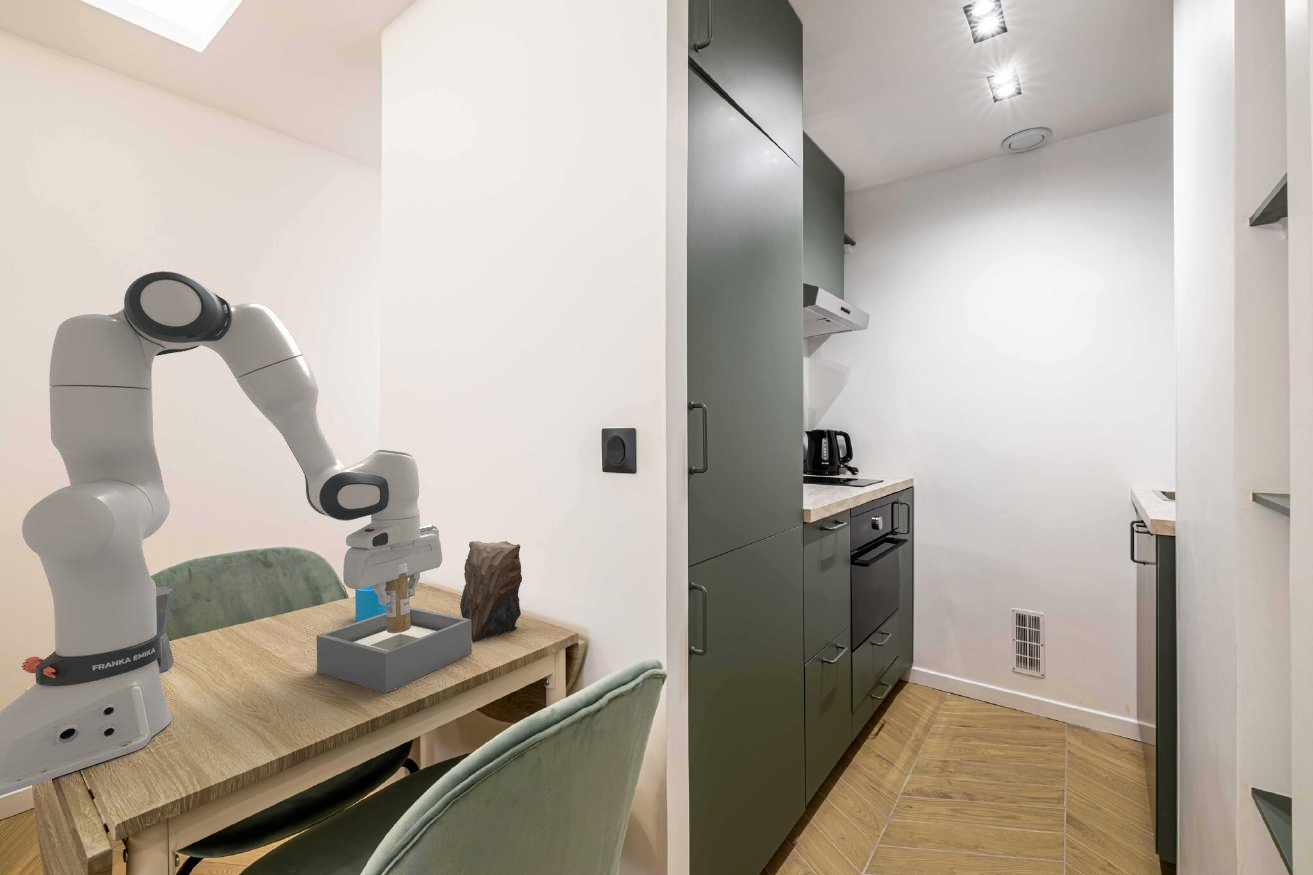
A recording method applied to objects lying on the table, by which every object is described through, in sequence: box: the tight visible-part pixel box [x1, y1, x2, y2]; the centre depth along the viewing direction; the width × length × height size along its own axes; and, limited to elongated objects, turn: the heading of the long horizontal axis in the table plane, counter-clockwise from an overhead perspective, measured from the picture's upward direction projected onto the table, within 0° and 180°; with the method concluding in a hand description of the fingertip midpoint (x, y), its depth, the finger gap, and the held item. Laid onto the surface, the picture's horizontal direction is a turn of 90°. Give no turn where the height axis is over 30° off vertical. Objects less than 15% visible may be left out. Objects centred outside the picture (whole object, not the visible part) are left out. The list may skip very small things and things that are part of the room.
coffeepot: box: [156, 586, 175, 674], centre depth 107 cm, size 15×9×18 cm, turn 6°
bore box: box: [316, 606, 473, 694], centre depth 112 cm, size 20×20×7 cm
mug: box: [354, 586, 386, 623], centre depth 140 cm, size 12×8×8 cm
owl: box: [459, 540, 523, 642], centre depth 130 cm, size 13×13×20 cm
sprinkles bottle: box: [385, 564, 411, 633], centre depth 112 cm, size 5×5×13 cm
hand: (397, 600), depth 112 cm, fingers closed on sprinkles bottle, 4 cm apart
